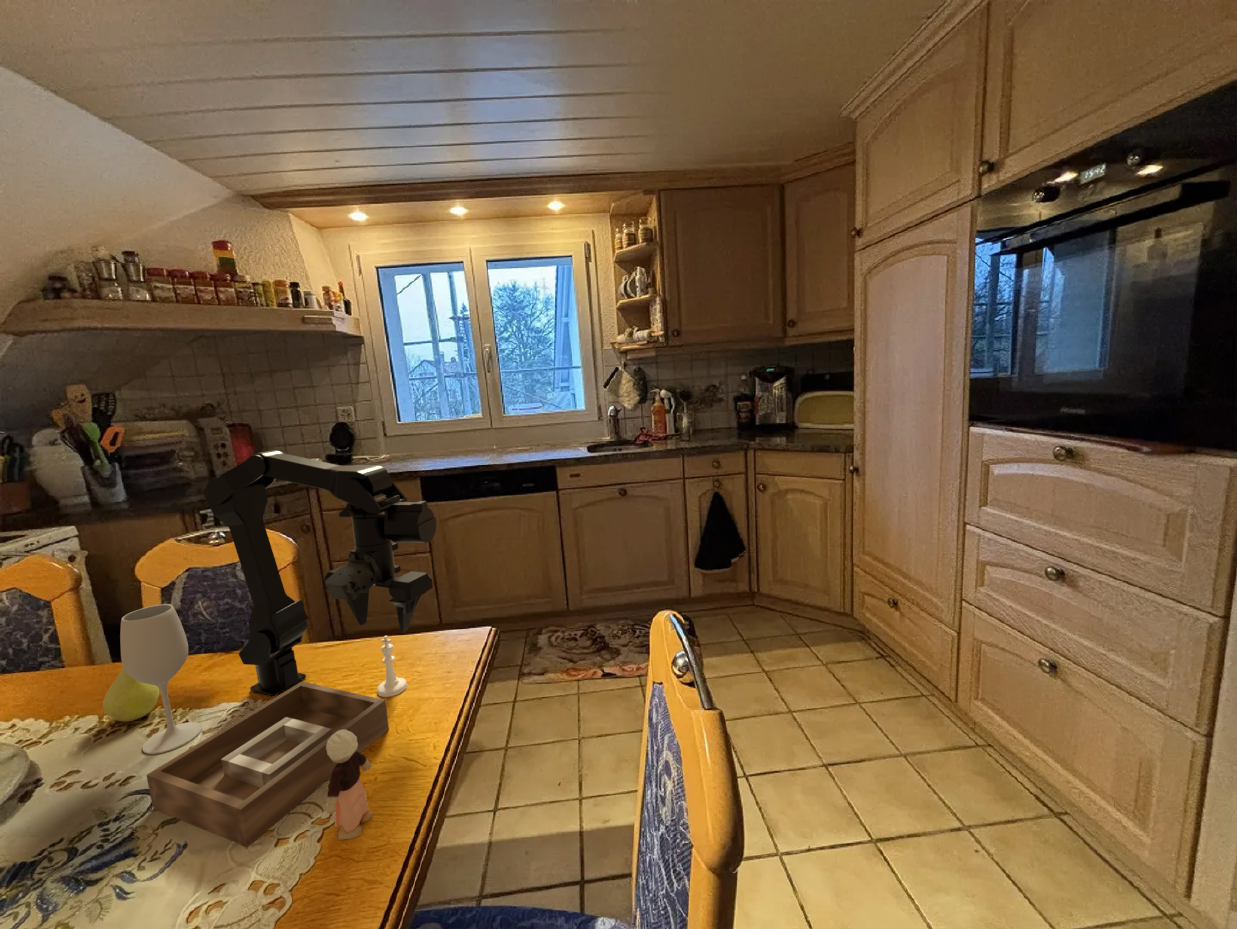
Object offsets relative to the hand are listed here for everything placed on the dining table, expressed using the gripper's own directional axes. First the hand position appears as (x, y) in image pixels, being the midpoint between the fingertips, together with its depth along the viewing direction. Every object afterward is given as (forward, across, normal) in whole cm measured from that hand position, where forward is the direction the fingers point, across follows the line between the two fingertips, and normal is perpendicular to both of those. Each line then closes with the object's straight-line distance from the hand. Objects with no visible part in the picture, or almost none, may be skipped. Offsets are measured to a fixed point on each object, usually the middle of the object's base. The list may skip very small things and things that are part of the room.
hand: (383, 627), depth 91 cm
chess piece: (+12, 0, 0) cm, 12 cm away
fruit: (+13, -37, -18) cm, 43 cm away
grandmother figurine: (+12, +18, -25) cm, 33 cm away
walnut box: (+12, -1, -20) cm, 23 cm away
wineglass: (+12, -24, -20) cm, 34 cm away
